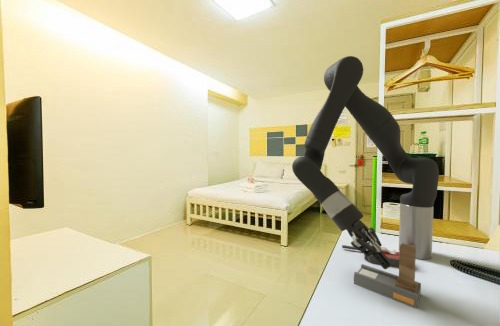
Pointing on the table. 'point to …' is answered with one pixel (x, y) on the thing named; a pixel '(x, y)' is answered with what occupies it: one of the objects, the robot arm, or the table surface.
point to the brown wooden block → (407, 268)
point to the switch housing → (385, 285)
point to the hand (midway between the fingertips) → (388, 266)
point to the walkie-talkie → (391, 255)
